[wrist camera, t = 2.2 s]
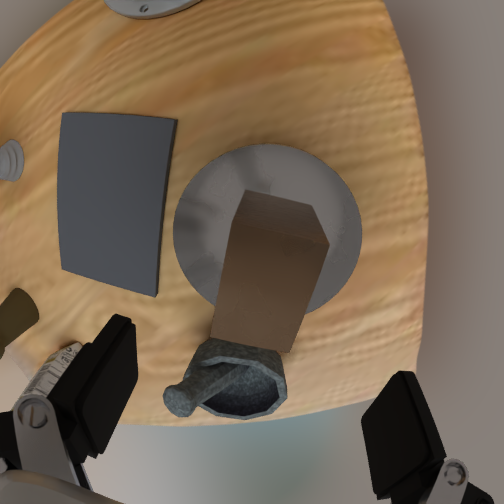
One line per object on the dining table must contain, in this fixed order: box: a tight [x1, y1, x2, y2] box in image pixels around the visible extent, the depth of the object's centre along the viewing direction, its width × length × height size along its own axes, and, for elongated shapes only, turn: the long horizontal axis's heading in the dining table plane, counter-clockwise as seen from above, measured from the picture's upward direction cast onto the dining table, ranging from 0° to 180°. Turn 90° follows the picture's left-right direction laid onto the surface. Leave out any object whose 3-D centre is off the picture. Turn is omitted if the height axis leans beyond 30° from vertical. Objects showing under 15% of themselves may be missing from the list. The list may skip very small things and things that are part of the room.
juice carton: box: [10, 342, 83, 411], centre depth 27 cm, size 8×9×19 cm
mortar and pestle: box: [163, 338, 287, 420], centre depth 25 cm, size 11×9×12 cm
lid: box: [173, 143, 362, 353], centre depth 16 cm, size 12×12×7 cm
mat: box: [57, 113, 177, 297], centre depth 25 cm, size 17×12×1 cm
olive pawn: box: [0, 288, 39, 359], centre depth 27 cm, size 6×6×11 cm
